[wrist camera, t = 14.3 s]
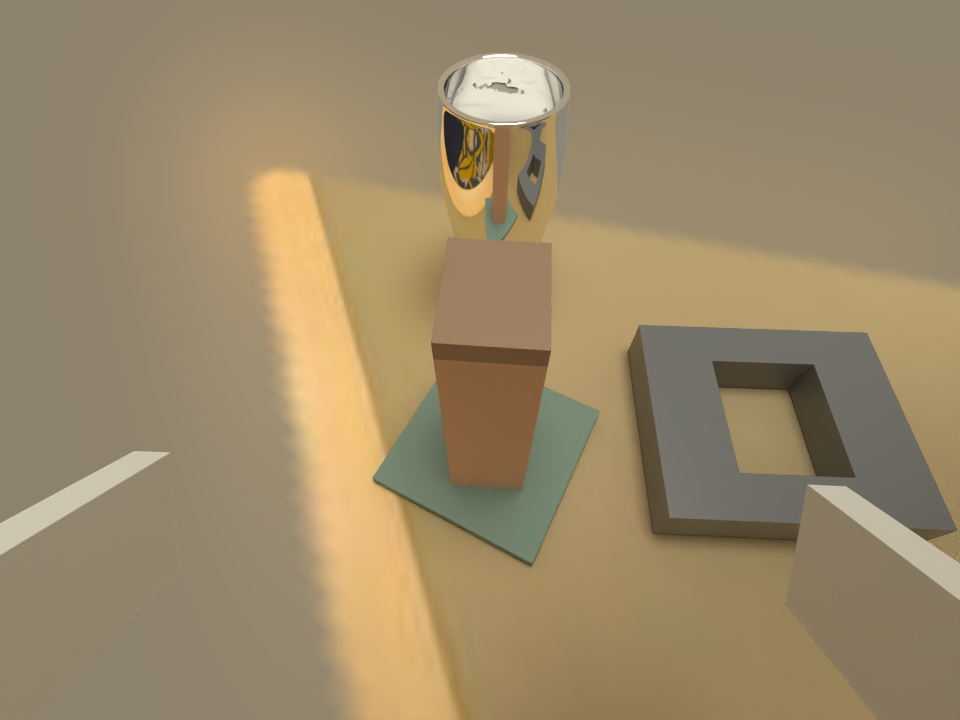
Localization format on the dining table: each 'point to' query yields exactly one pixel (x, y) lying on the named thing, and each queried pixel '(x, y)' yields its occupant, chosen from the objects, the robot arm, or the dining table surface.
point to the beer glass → (501, 145)
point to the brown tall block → (492, 356)
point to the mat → (491, 511)
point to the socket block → (821, 413)
